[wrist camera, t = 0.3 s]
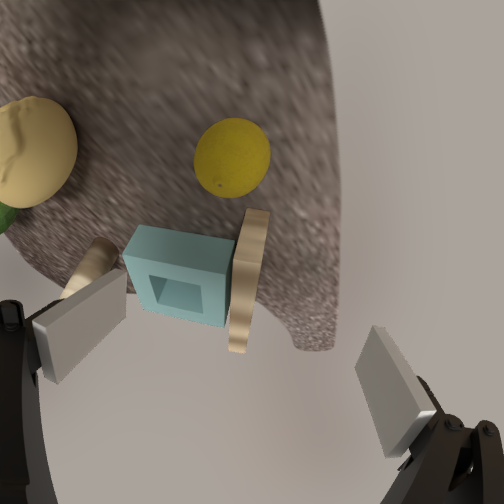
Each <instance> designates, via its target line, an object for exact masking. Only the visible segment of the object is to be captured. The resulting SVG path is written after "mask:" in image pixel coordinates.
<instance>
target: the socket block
mask: <svg viewBox="0 0 504 504" xmlns="http://www.w3.org/2000/svg"><path fill="white" fill-rule="evenodd" d="M234 247H235V240H229V239H223V238H217V237H211V236H206V235H200V234H194V233H188V232H182V231H176V230H170V229H164V228H158V227H152V226H146V225H140V224H139V226H138V227H137V229H136V231H135V233H134V234H133V236H132V238H131V239H130V241H129V243H128V245H127V246H126V248H125V250H124V252H123V253H122V256H123V259H124V261H125V264H126V267H127V270H128V272H129V275H130V277H131V280H132V283H133V285H134V288H135V290H136V293H137V295H138V298H139V300H140V302H141V305H142V307H143V309H144V310H147V311H151V312H155V313H159V314H164V315H167V316H172V317H176V318H180V319H184V320H189V321H194V322H199V323H203V324H207V325H212V326H217V327H222V328H224V327H225V323H226V319H227V315H228V310H229V306H230V302H231V288H232V270H233V258H234Z"/></svg>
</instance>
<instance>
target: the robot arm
mask: <svg viewBox="0 0 504 504" xmlns="http://www.w3.org/2000/svg"><path fill="white" fill-rule="evenodd" d="M126 286H127V271H123V270H119V269H116V268H115V269H113V270H112V271H110V272H108V273H107V274H105V275H103V276H101V277H100V278H98V279H97V280H95V281H93V282H92V283H90V284H88V285H87V286H85V287H83V288H82V289H80V290H79V291H77V292H75V293H74V294H72V295H71V296H69V297H67V298H66V299H65V298H63V299H59V300H56V301H53V302H52V303H50V304H48V305H47V307H46V306H45V307H44V308H42V309H41V310H39V311H37V312H36V313H34V314H33V315H31V316H30V317H28V318H27V319H25V318H24V311H23V305H22V304H21V303H20V302H19V301H17V300H4V301H1V302H0V504H58V502H57V499H56V495H55V491H54V488H53V484H52V480H51V475H50V471H49V466H48V462H47V456H46V451H45V445H44V439H43V432H42V424H41V416H40V403H39V388H38V375H37V372H36V371H37V370H38V369H39V368H40V367H41V366H42V370H43V374H44V377H45V378H47V379H49V380H50V381H52V382H54V383H56V384H59V383H60V381H62V380H63V379H64V378H65V376H67V374H69V372H70V371H71V370H72V369H73V368H74V367H75V366H76V365H77V364H78V363H79V362H80V361H81V360H82V359H83V358H84V357H85V356H86V355H87V354H88V353H89V352H90V351H91V350H92V349H93V348H94V347H95V346H96V345H97V344H98V343H99V342H100V341H101V340H102V339H103V338H104V337H105V336H107V335H108V333H109V332H111V331H112V329H114V328H115V327H116V326H117V325H118V324H119V323H120V322H121V321H122V320H123V319H124V318H125V317H126ZM355 370H356V372H357V375H358V378H359V381H360V384H361V386H362V389H363V392H364V395H365V398H366V401H367V403H368V406H369V409H370V412H371V415H372V418H373V421H374V424H375V427H376V430H377V433H378V436H379V439H380V442H381V445H382V449H383V452H384V455H385V458H395V457H401V456H402V455H403V454H404V453H405V452H406V450H407V449H408V448H409V450H410V453H411V455H410V456H409V457H408V459H407V460H406V461H405V462H404V463H403V464H402V465H401V466H400V467H399V468H398V471H400V469H401V471H400V472H399V474H398V476H397V478H396V479H395V481H394V483H393V484H392V486H391V488H390V489H389V491H388V492H387V494H386V496H385V497H384V499H383V500H382V502H381V503H380V504H504V454H503V449H502V443H501V438H500V433H499V430H498V428H497V427H496V426H495V424H493V423H492V422H490V421H487V420H482V421H480V422H479V423H478V425H477V426H476V427H475V429H471V428H465V427H464V424H463V422H462V421H461V420H460V419H459V418H457V417H456V416H454V415H451V414H445V413H444V411H443V409H442V408H441V406H440V404H439V403H438V401H437V399H436V398H435V397H434V394H433V393H432V391H430V388H429V386H428V385H427V383H426V382H425V381H424V380H423V379H422V378H420V377H419V376H416V375H415V374H414V372H413V370H412V369H411V367H410V365H409V364H408V362H407V361H406V360H405V358H404V356H403V354H402V353H401V351H400V350H399V348H398V347H397V345H396V344H395V342H394V341H393V339H392V338H391V336H390V335H389V333H388V332H387V330H386V329H385V328H384V327H378V326H372V328H371V331H370V333H369V336H368V338H367V341H366V343H365V345H364V347H363V350H362V352H361V354H360V357H359V359H358V361H357V363H356V366H355ZM472 467H473V469H472V472H471V468H472Z"/></svg>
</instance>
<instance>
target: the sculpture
mask: <svg viewBox="0 0 504 504" xmlns="http://www.w3.org/2000/svg"><path fill="white" fill-rule="evenodd" d="M77 151H78V144H77V136H76V132H75V129H74V126H73V123H72V121H71V119H70V117H69V115H68V114H67V112H66V111H65V110H64V108H63V107H62V106H61V105H59V104H58V103H56V102H55V101H53V100H50V99H47V98H40V97H36V96H29V97H26V98H23V99H22V100H20V101H12V102H10V103H9V104H7V105H5V106H3V107H1V108H0V201H1V202H2V203H4V204H6V205H8V206H11V207H15V208H28V207H32V206H35V205H38V204H40V203H42V202H44V201H45V200H47V199H48V198H50V197H51V196H52V195H53V194H55V193H56V192H57V191H58V190H59V189H60V188H61V187H62V185H63V184H64V183H65V181H66V180H67V179H68V177H69V175H70V173H71V171H72V169H73V167H74V164H75V161H76V157H77Z"/></svg>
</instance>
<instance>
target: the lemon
mask: <svg viewBox="0 0 504 504" xmlns="http://www.w3.org/2000/svg"><path fill="white" fill-rule="evenodd" d="M270 156H271V151H270V145H269V141H268V139H267V137H266V135H265V133H264V132H263V131H262V130H261V128H260V127H259V126H257V125H256V124H254V123H253V122H251V121H249V120H246V119H242V118H227V119H224V120H221V121H219V122H217V123H215V124H214V125H212V126H211V127H210V128H208V129H207V130H206V132H205V133H204V134H203V135H202V137H201V138H200V140H199V142H198V144H197V147H196V150H195V154H194V170H195V175H196V177H197V179H198V181H199V182H200V184H201V185H202V186H203V187H204V188H205V189H206V190H207V191H209V192H210V193H212V194H214V195H216V196H219V197H223V198H236V197H240V196H243V195H246V194H247V193H249V192H250V191H252V190H253V189H255V188H256V187H257V185H258V184H259V183H260V182H261V181H262V179H263V178H264V176H265V174H266V172H267V170H268V167H269V164H270Z"/></svg>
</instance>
